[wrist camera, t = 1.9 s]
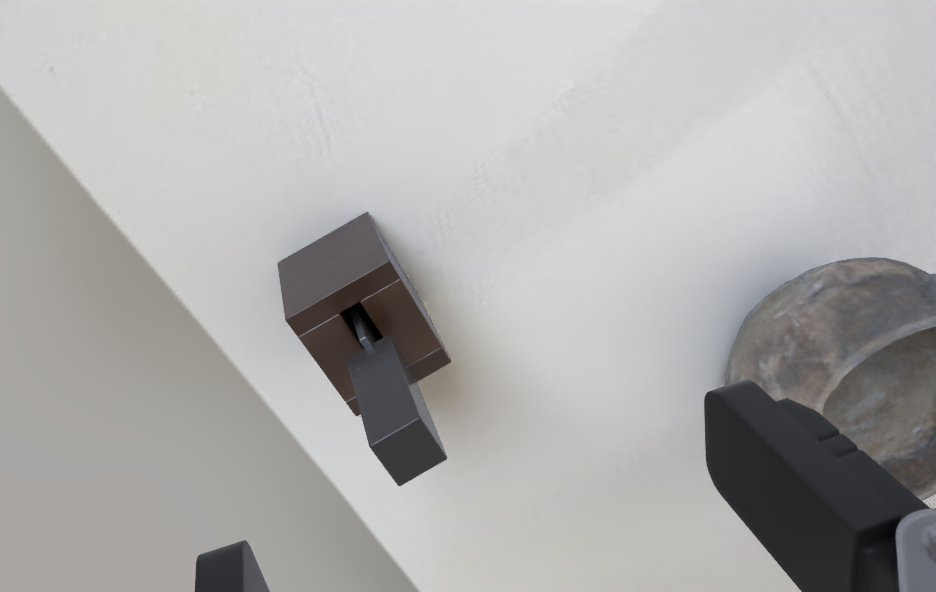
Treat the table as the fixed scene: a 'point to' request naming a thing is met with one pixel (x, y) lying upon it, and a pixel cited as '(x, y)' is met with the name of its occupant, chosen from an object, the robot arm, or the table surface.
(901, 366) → the bowl
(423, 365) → the knife block
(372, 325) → the knife
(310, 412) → the table surface
